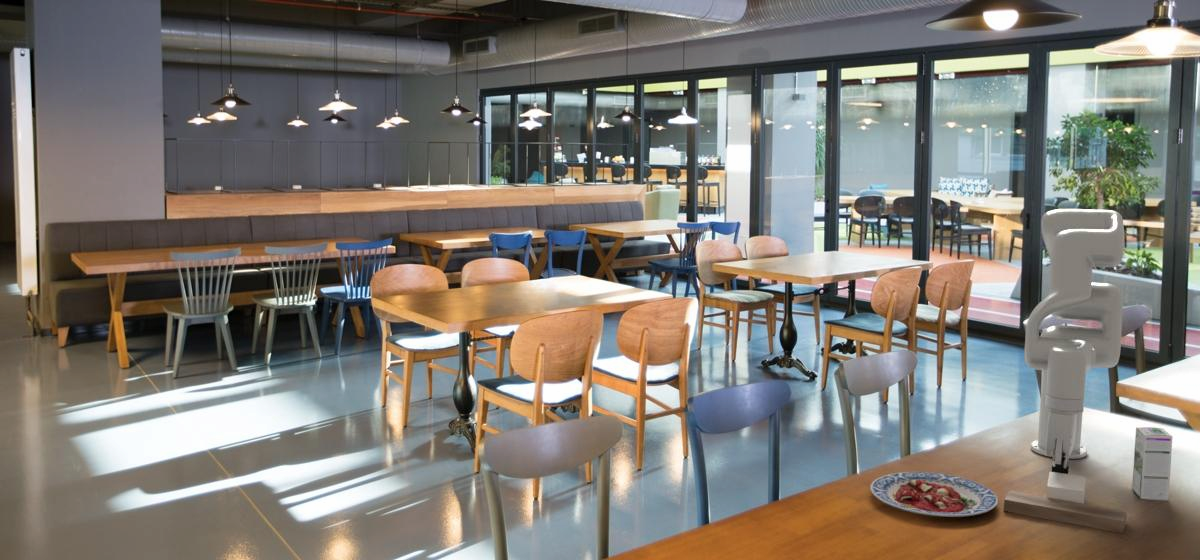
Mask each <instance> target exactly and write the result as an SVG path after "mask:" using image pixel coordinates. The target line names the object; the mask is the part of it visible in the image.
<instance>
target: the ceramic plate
mask: <svg viewBox="0 0 1200 560" xmlns="http://www.w3.org/2000/svg"><path fill="white" fill-rule="evenodd" d="M870 491H871V493H872V495H873V496H874V497H875V498H876V499H878V500H879V501H881V502H882V503H885V504H886V505H888V506H891V507H893V508H896V509H899V510H902V511H906V512H910V513H914V514H918V515H923V516H932V517H942V518H943V517H945V518H951V517H952V518H961V517H971V516H977V515H982V514H985V513H987V512H990V511H991V510H994V509H995V507H996V506H997V505H998V501H999V499H998V496H997V495H996V494H995V493H994V492H993V490H991V489H989V488H988V487H986V486H985V485H983V484H980V483H978V482H976V481H973V480H970V479H967V478H964V477H960V476H955V475H951V474H946V473H938V472H937V473H936V472H928V471H904V472H895V473H889V474H885V475H882V476H880V477H878V478H875V479H874V480H873V481H872V483H870ZM893 493H894V494H895V497H896V498H895V500H896V501H895V500H894V498H893V496H892V495H893ZM898 502H899V503H898ZM901 503H903V504H906V505H910V504H911V506H913V507H915V508H916V509H915V508H910V507H907V506H904V505H901Z"/></svg>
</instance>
